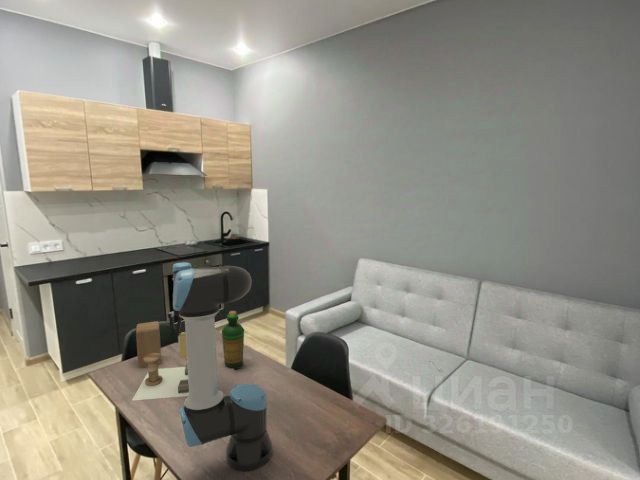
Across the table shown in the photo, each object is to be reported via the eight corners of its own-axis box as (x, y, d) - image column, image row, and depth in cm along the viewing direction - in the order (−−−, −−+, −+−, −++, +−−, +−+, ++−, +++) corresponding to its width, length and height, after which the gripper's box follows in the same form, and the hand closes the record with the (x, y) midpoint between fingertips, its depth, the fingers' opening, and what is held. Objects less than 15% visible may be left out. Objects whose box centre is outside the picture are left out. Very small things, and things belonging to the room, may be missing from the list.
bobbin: (160, 385, 153) (158, 360, 151) (143, 386, 152) (141, 361, 150) (164, 376, 160) (162, 352, 158) (148, 377, 158) (146, 353, 156)
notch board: (188, 392, 148) (187, 385, 148) (178, 393, 148) (177, 386, 147) (195, 368, 167) (195, 363, 166) (187, 369, 166) (186, 363, 166)
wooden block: (139, 360, 175) (136, 323, 172) (161, 356, 180) (158, 320, 176) (138, 370, 167) (135, 331, 163) (161, 366, 171) (159, 327, 167)
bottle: (218, 369, 169) (216, 314, 164) (230, 358, 179) (228, 307, 174) (237, 373, 166) (236, 317, 161) (248, 362, 176) (247, 309, 171)
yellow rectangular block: (190, 356, 154) (189, 335, 152) (180, 357, 153) (179, 336, 151) (191, 352, 158) (191, 331, 156) (182, 353, 157) (181, 332, 155)
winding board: (188, 398, 146) (188, 395, 146) (131, 403, 142) (131, 400, 142) (197, 368, 169) (197, 366, 169) (149, 371, 166) (149, 369, 165)
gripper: (205, 294, 156) (207, 343, 160) (164, 296, 153) (167, 345, 157) (202, 300, 148) (204, 351, 152) (160, 302, 146) (163, 354, 149)
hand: (186, 348), depth 155 cm, fingers closed on yellow rectangular block, 4 cm apart
